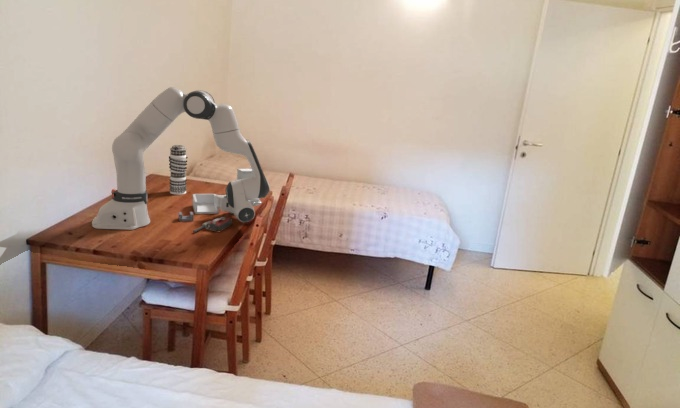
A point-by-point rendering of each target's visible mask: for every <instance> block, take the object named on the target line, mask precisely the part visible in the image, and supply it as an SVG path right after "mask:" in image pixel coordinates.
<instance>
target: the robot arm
mask: <svg viewBox="0 0 680 408" xmlns="http://www.w3.org/2000/svg"><path fill="white" fill-rule="evenodd" d="M182 113H183V114H184V113H186V114H187V115H188V116H190V117H191V118H193V119H198V120H205V121H208V122H209V124H210V126H211V131H212V135H213V140H214V141H215V145H216V146H217V147H218V149H220V150H221V151H224V152H227V153H230V154H231V153H232V154H237V155H238V154H239V155H242V156H244V157H245V158H246V159H247V162H248V164H249V167H250V169H252V171H253V174H254V175H253V177H250V178H245V179H239V180H237V179H236V180H231V181H229V182H228V183H227V185H226V187H225V194H216V196H215V203H216V205H217V206H218V207H219V211H221V212H227V213H230V212H231V213H234V214H233V215H234V216H235V218H236V219H237V221H239V222H241V223H249V222H251V221H252V220H253V219H254V218H255V216H256V211H255V207H258V206H260V205H261V204H262V203H263V202H262V200H261V199H263V198H264V199H265V198H266V197H267V195H268V194H269V193H270V191H271V190H270V183H269V181H268V179H267V177H266V176H265V174H264V171H263V169H262V165H261V164H260V161H259V159H258V156H257V154H256V151H255V148H254V146H253V144H252V143H251V141H250V140H249V139H246V138H245V137H244V136H243V134H242V133H241V129H240V125H239V121H238V118H237V115H236V113H235V111H234V108H233V107H232V106H231V105H230V104H226V103H219V104H218V103H216V102H215V100H214V98H213V95H212V94H211V93H209V92H207V91H205V90H199V89H198V90H197V89H196V90H194V91H191V92H188V93H185V92H184V91H182V90H181V89H180V88H177V87H174V86H173V87H172V86H169V87H167V88H166V89H164V90H163V91H162V92H161V93H159V94H158V95H157V96H156V97H154V99H153V100H152V101H151V102H150V103H149V104H148V105H147V106H146V107H145V108H144V109H143V110H142V111H141V112H140V113H139V114H138V116H137V117H136V118H135V119H134V120H133V121H132V122H131V123H130V124H129V126H128V127H126V129H124V130H123V132H122V133H120V134H119V135H118V136H116V137H115V139H114V140H113V142H112V147H111V149H112V155H113V156H112V157H113V161H114V166H115V171H116V172H115V173H116V188H113V189H111V200H109V201H107V202H106V203H105V204H103V205H102V206H101V207H100V208H98V209H99V210H98V212H97V215H96V216H95V217H94V218H93V219H92V221H91V226H92V227H93V229H96V230H97V229H98V230H128V231H129V230H131V231H132V230H136V229H138V228H142V227H145V226H148V225H149V224H151V219H150V216H149V212H148V207H147V206H148V205H147V204H148V191H147V188H146V187H147V186H146V185H147V181H146V180H147V179H146V177H147V176H146V169H145V164H144V163H145V162H144V152H145V151H146V150H147V149H148V148H149V147H150V146H151V145H152V144H153V143H154V142H155V141H156V140H157V139H158V138H159V137H160V136H162V134H163V133H164V132H165V131H166V129H167V128H168V127H170V125H172V123H174V121H175V120H176V119H177V118H178V117H179V116H180V115H181V114H182Z"/></svg>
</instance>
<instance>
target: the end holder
mask: <svg viewBox="0 0 680 408" xmlns="http://www.w3.org/2000/svg"><path fill="white" fill-rule="evenodd" d="M216 195H217V193H192V209H193V213H194V215H210V214H212V215H213V214H215V215H216V214H220V208H219V207H218V206H217V205H216V203H215V196H216Z"/></svg>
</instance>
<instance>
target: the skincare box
mask: <svg viewBox="0 0 680 408" xmlns="http://www.w3.org/2000/svg"><path fill="white" fill-rule="evenodd" d="M236 172H237V173H236V180H239V179H245V178H250V177H253V175H254V174H253V171H252V169H251V168H237V170H236Z"/></svg>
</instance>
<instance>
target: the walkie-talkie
mask: <svg viewBox="0 0 680 408" xmlns="http://www.w3.org/2000/svg"><path fill="white" fill-rule="evenodd" d="M230 225H231V226H232V225H233V220H232V218H230V217H226V216H220V217H217V218H215V219H212V220H208V221H205V222H204V223H202V224H201V226H200V227H197V228H195V229H194V230H192V232H193V233H194V234H195V233H197V232H198V231H201V230H203V229H205V228H206V230H208V229H209V230H208V231H212V230H213V232H217V231H220V232H222V231H223V230H222V229H224V228H225V229H227V228H228V226H229V227H231V226H230ZM226 227H227V228H226ZM225 229H224V230H225ZM221 230H222V231H221Z"/></svg>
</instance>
